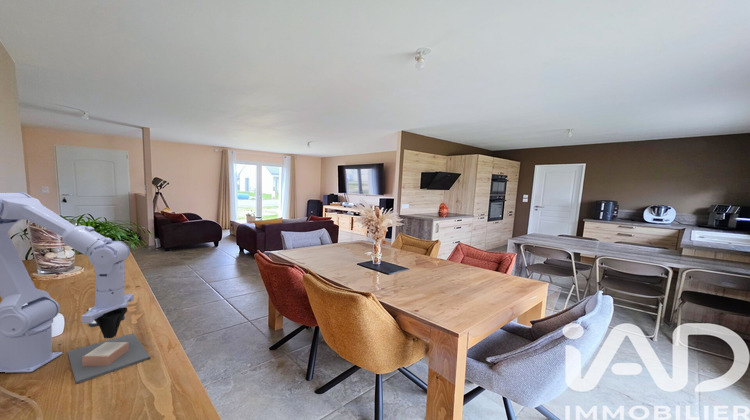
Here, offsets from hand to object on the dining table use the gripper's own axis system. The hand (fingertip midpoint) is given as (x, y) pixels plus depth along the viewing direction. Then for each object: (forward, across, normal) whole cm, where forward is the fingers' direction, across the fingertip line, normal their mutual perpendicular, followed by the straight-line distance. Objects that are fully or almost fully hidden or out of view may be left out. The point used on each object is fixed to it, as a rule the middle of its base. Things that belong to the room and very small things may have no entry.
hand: (110, 336), depth 76 cm
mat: (+6, +1, +1) cm, 6 cm away
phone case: (+7, +26, +20) cm, 34 cm away
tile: (+4, +3, 0) cm, 5 cm away
